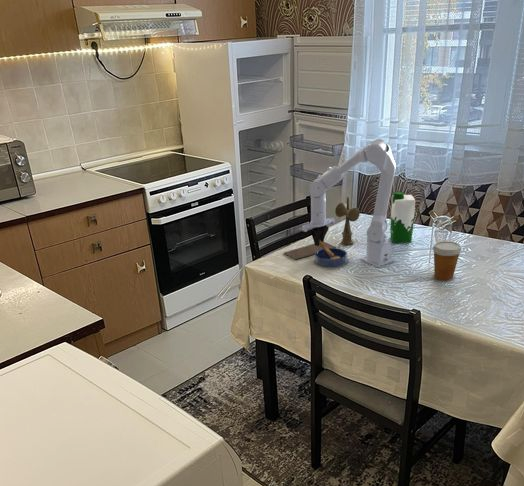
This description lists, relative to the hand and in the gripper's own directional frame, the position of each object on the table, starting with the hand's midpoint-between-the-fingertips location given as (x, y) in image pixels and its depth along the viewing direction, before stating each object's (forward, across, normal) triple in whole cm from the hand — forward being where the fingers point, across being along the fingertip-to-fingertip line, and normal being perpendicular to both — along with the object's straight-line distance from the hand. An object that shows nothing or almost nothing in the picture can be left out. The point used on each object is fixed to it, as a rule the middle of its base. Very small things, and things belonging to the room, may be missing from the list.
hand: (318, 244), depth 215 cm
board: (+5, 0, -6) cm, 8 cm away
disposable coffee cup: (+5, -22, +45) cm, 50 cm away
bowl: (+5, 0, +8) cm, 9 cm away
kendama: (+5, -17, -3) cm, 18 cm away
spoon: (+3, 0, +5) cm, 6 cm away
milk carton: (+5, -37, +8) cm, 38 cm away
